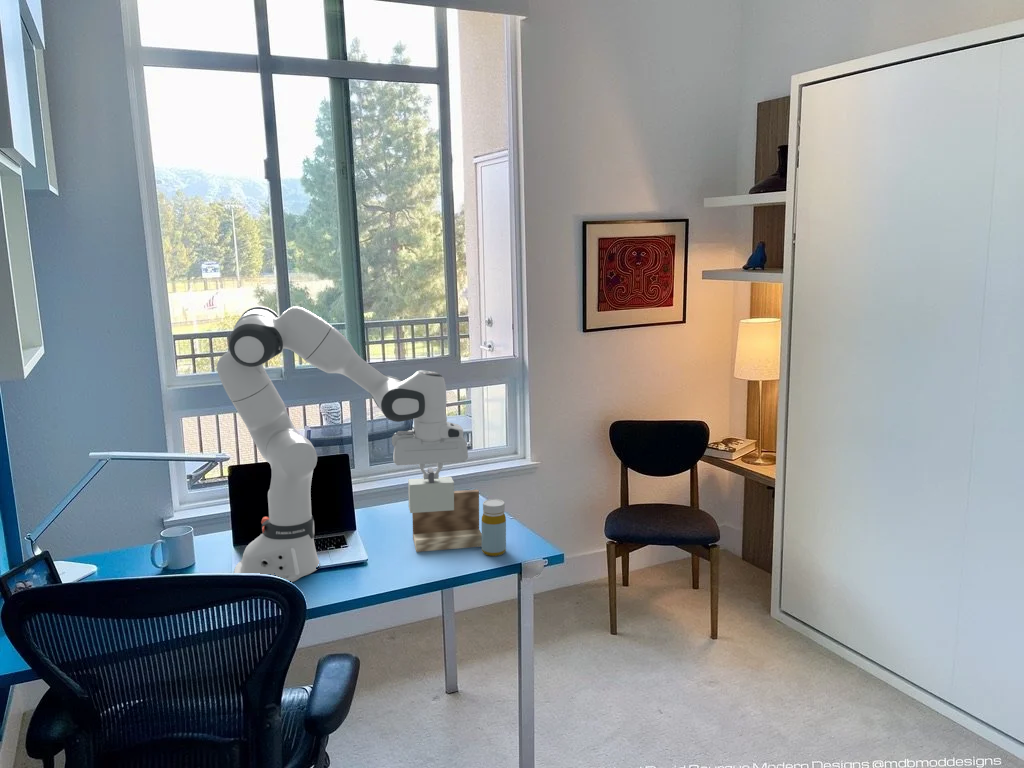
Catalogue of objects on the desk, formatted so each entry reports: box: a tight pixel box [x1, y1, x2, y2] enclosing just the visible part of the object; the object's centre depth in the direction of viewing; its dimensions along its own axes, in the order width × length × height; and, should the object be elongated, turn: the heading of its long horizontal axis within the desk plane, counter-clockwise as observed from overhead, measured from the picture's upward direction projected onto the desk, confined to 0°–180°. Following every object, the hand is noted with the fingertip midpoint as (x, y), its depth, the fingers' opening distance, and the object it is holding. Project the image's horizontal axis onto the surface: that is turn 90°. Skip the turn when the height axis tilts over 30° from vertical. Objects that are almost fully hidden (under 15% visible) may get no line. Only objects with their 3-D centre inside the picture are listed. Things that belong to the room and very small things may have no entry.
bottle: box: [481, 498, 507, 557], centre depth 218 cm, size 7×7×15 cm
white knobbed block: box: [407, 467, 455, 514], centre depth 208 cm, size 12×5×11 cm, turn 102°
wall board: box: [411, 488, 482, 553], centre depth 225 cm, size 20×10×14 cm, turn 102°
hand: (430, 478), depth 208 cm, fingers closed on white knobbed block
